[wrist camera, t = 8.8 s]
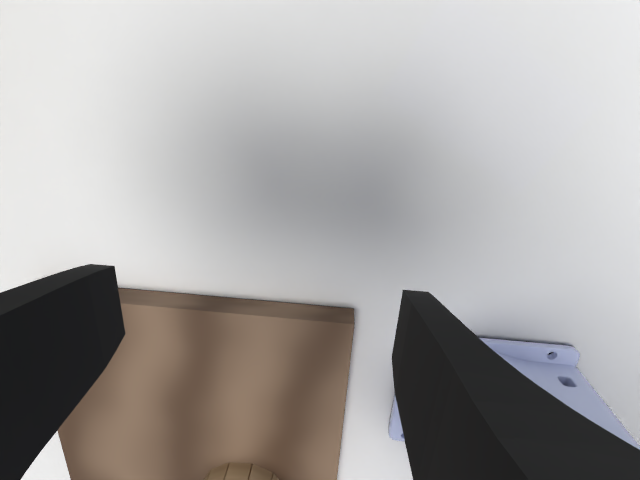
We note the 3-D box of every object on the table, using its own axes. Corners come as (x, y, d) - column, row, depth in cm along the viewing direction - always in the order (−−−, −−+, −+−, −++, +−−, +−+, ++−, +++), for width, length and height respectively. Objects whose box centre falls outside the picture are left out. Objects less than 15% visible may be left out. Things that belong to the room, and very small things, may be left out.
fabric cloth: (353, 308, 22) (354, 324, 20) (330, 517, 28) (329, 539, 27) (40, 281, 22) (20, 294, 21) (92, 491, 29) (79, 512, 28)
